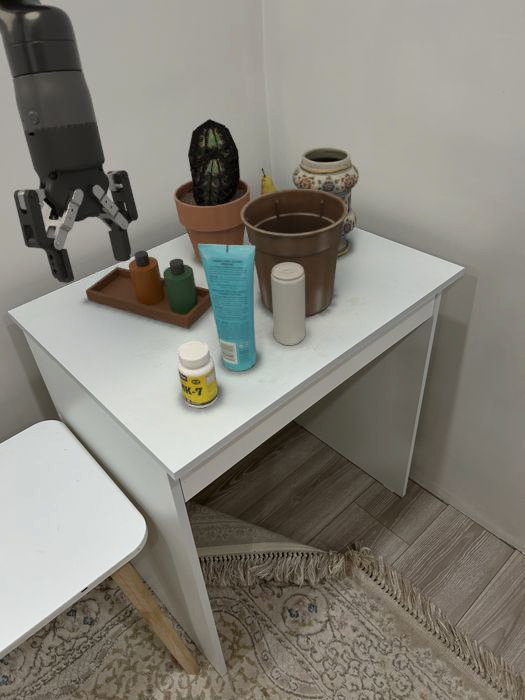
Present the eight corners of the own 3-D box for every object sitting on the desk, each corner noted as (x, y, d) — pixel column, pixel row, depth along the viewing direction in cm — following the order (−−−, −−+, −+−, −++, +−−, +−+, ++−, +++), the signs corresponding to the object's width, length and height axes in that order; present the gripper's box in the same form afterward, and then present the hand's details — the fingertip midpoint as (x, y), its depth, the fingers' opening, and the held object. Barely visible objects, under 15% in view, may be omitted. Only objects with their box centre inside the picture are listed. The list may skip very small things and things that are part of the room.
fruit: (288, 219, 116) (286, 163, 108) (265, 227, 114) (261, 170, 106) (274, 210, 120) (272, 156, 112) (252, 217, 118) (247, 162, 110)
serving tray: (88, 300, 96) (85, 290, 95) (119, 276, 102) (117, 266, 100) (188, 328, 88) (186, 318, 86) (216, 300, 94) (214, 290, 92)
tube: (265, 350, 82) (256, 235, 70) (262, 372, 79) (253, 254, 66) (216, 350, 83) (200, 236, 71) (211, 371, 79) (193, 255, 67)
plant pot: (228, 300, 93) (218, 213, 83) (292, 263, 102) (290, 179, 92) (299, 339, 84) (297, 245, 74) (363, 294, 92) (369, 204, 82)
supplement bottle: (177, 402, 75) (167, 355, 69) (196, 381, 78) (187, 335, 73) (207, 413, 73) (198, 365, 67) (225, 391, 76) (218, 344, 71)
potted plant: (170, 256, 106) (146, 124, 91) (224, 232, 113) (210, 105, 97) (213, 282, 98) (194, 141, 83) (269, 253, 105) (261, 119, 89)
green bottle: (164, 311, 91) (155, 266, 86) (180, 296, 94) (172, 252, 89) (188, 317, 89) (180, 272, 84) (203, 302, 92) (197, 257, 87)
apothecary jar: (368, 244, 106) (374, 151, 94) (326, 269, 99) (328, 172, 88) (321, 226, 113) (322, 137, 101) (280, 248, 107) (276, 156, 95)
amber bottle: (131, 302, 94) (120, 258, 88) (148, 287, 97) (138, 244, 92) (153, 308, 92) (143, 263, 86) (170, 293, 95) (161, 249, 90)
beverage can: (269, 333, 86) (265, 267, 78) (296, 324, 87) (294, 258, 79) (282, 350, 82) (279, 282, 74) (311, 341, 83) (310, 273, 76)
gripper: (90, 120, 65) (119, 253, 72) (-23, 132, 55) (24, 286, 61) (133, 114, 61) (160, 256, 67) (21, 126, 50) (66, 292, 57)
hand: (95, 270), depth 64 cm, fingers open, 8 cm apart
